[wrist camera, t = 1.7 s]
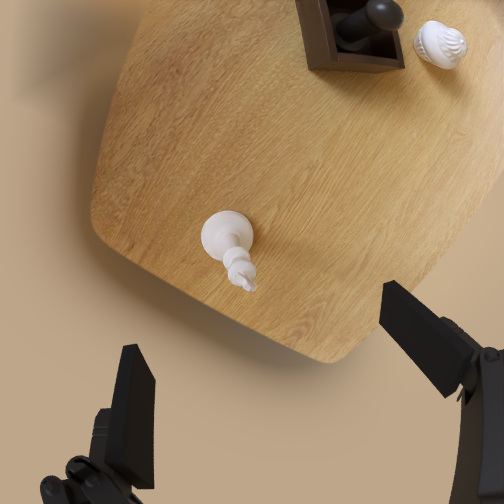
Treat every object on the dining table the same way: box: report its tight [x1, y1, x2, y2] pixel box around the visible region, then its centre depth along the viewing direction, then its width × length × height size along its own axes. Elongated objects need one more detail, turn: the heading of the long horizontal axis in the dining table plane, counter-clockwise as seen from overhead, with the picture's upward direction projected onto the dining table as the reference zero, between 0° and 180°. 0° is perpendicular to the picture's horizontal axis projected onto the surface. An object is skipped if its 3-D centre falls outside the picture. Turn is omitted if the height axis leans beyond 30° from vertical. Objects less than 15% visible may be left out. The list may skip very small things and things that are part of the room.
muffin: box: [413, 21, 468, 70], centre depth 20 cm, size 6×6×7 cm
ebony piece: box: [330, 0, 404, 53], centre depth 17 cm, size 4×4×9 cm
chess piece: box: [201, 210, 258, 292], centre depth 23 cm, size 5×5×10 cm
